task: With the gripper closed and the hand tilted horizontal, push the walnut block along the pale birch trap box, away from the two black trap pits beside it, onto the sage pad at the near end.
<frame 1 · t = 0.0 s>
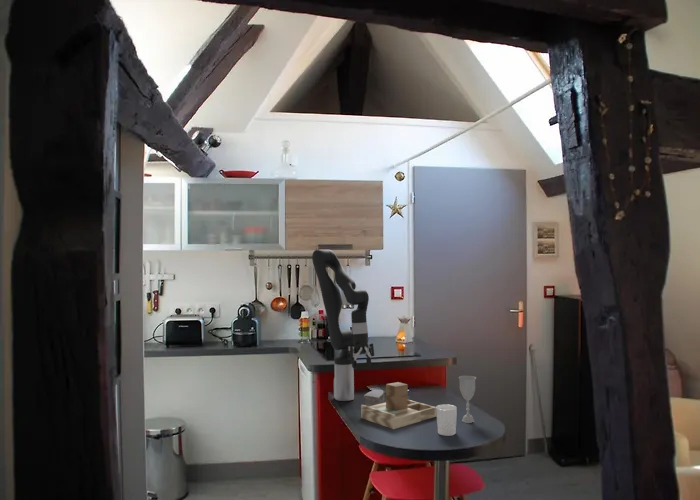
hand: (361, 367, 247), 17 cm above the breakfast bar, tool pointing down, fingers open, 8 cm apart
trap box: (398, 417, 225), on the breakfast bar
chalice: (468, 421, 219), on the breakfast bar
walnut block: (396, 408, 225), point 4 cm above the breakfast bar, touching trap box
white cup: (446, 433, 204), on the breakfast bar
decorative stone: (374, 408, 241), on the breakfast bar
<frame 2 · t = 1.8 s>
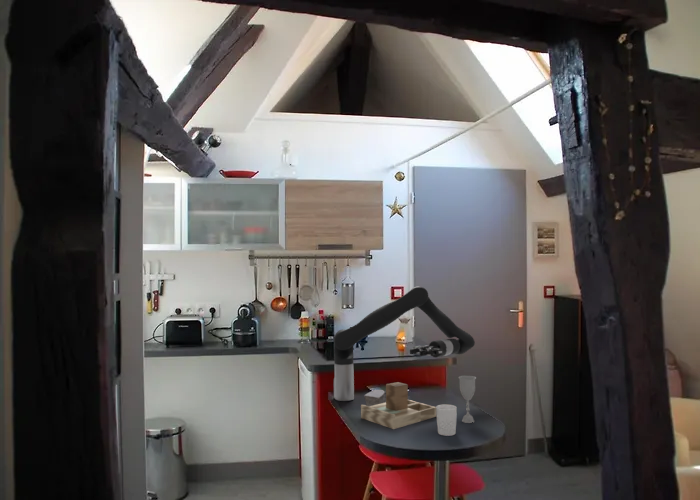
hand: (415, 352, 233), 26 cm above the breakfast bar, tool horizontal, fingers open, 5 cm apart
nothing on the breakfast bar moved.
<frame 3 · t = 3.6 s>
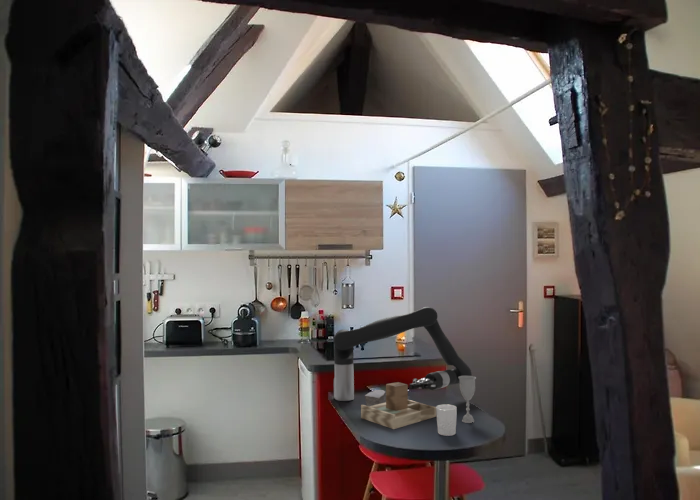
hand: (410, 386, 230), 12 cm above the breakfast bar, tool horizontal, fingers closed
nothing on the breakfast bar moved.
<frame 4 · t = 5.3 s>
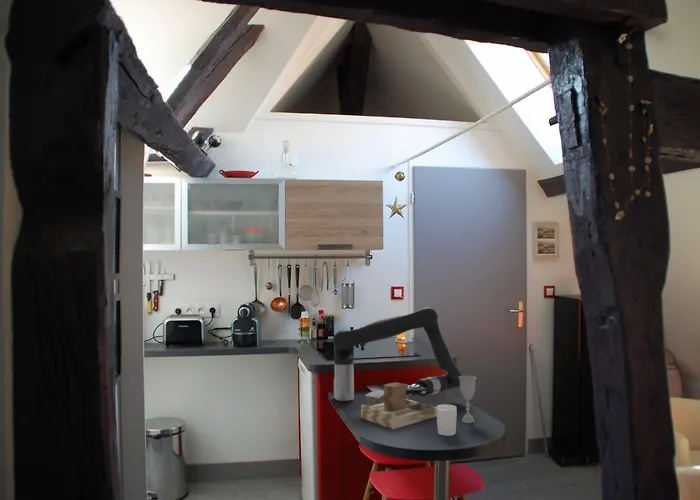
hand: (400, 392, 227), 10 cm above the breakfast bar, tool horizontal, fingers closed
walnut block: (395, 408, 224), point 4 cm above the breakfast bar, touching gripper
everything else where it was.
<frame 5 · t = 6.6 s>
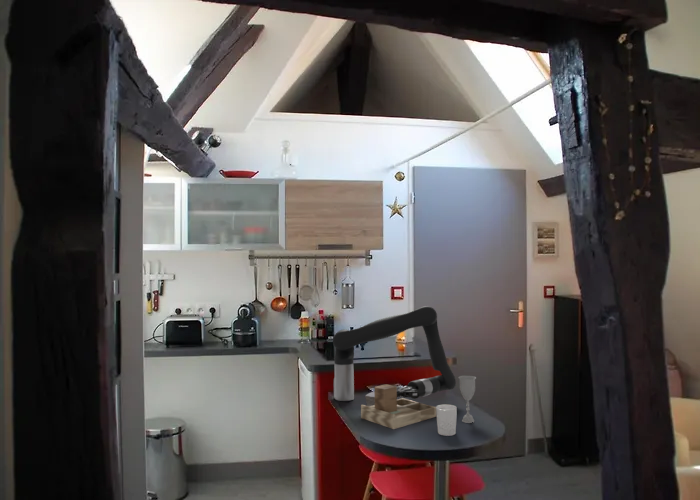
hand: (391, 395, 223), 10 cm above the breakfast bar, tool horizontal, fingers closed
walnut block: (385, 410, 221), point 4 cm above the breakfast bar, touching gripper, trap box
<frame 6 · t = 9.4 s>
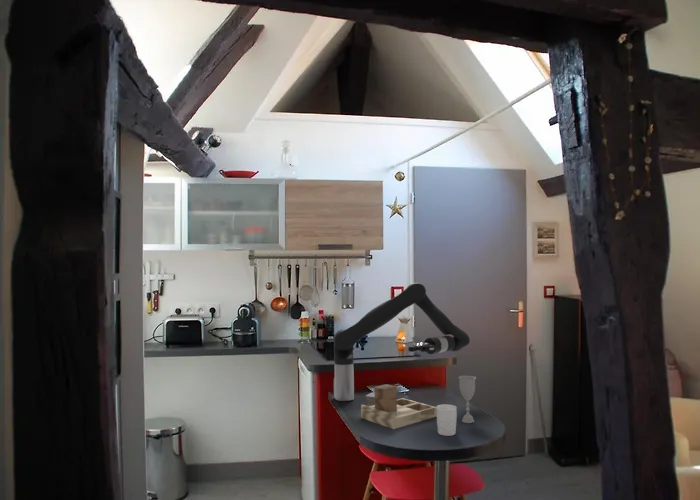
hand: (409, 349, 235), 27 cm above the breakfast bar, tool horizontal, fingers closed
walnut block: (385, 410, 221), point 4 cm above the breakfast bar, touching trap box
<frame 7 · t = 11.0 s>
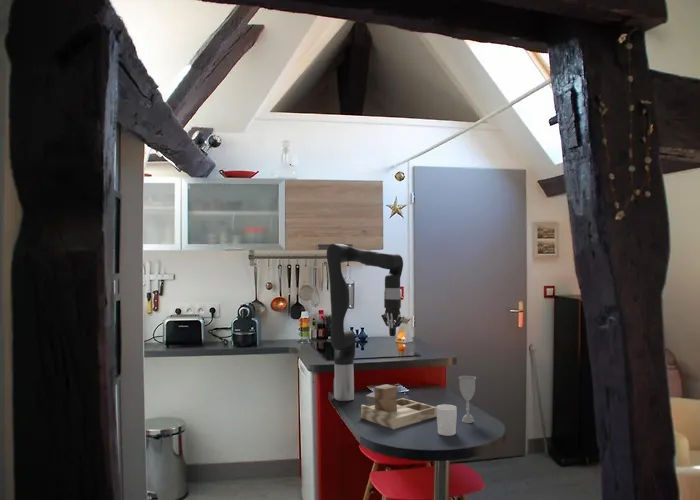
hand: (392, 336, 239), 33 cm above the breakfast bar, tool pointing down, fingers closed
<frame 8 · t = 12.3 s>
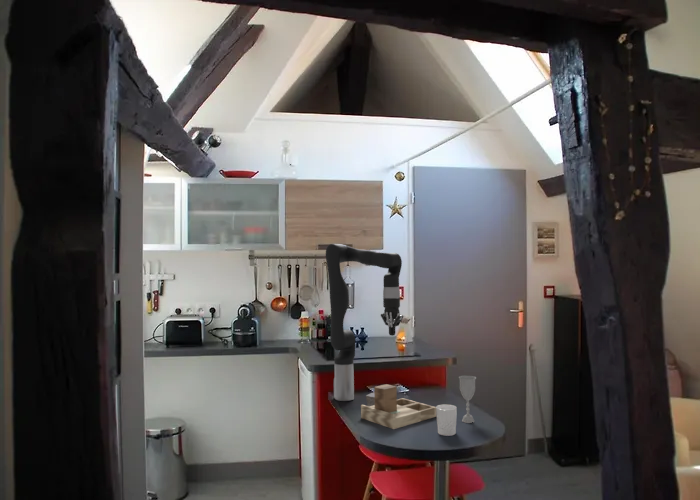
hand: (392, 335, 239), 33 cm above the breakfast bar, tool pointing down, fingers closed
at the end: walnut block inside the target area (0.6 cm from its centre), point 4.2 cm above the breakfast bar; walnut block tilted 0°; walnut block moved 6.5 cm from its start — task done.
